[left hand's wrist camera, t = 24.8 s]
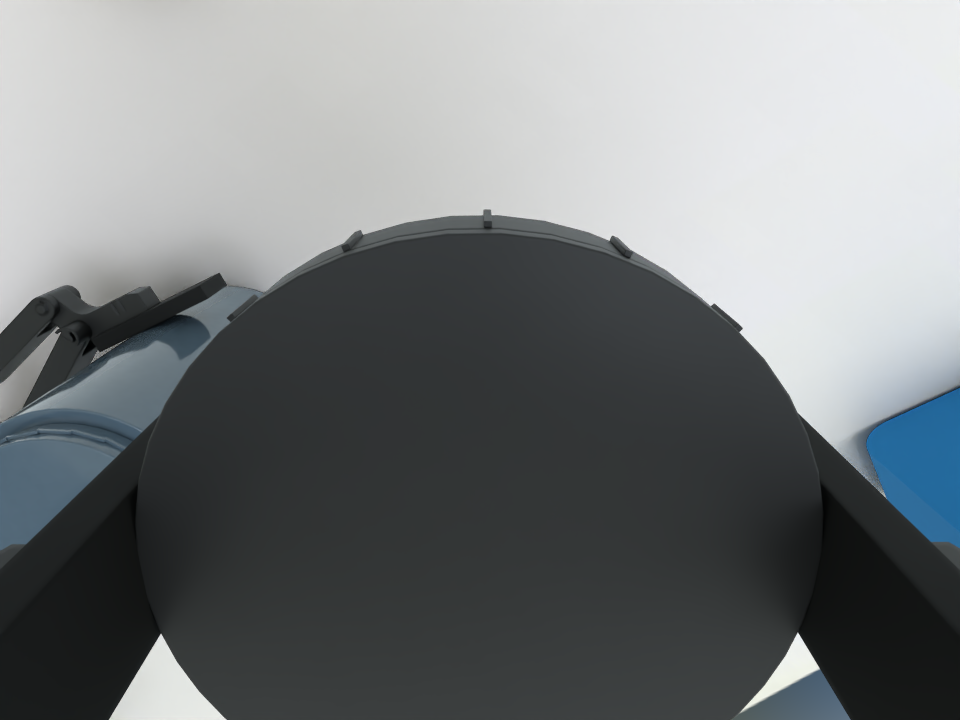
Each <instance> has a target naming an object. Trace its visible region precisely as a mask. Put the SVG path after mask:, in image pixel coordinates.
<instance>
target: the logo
mask: <svg viewBox="0 0 960 720" xmlns="http://www.w3.org/2000/svg"><path fill="white" fill-rule="evenodd" d="M866 447H867V450H868V452H869V455H870V457H871V460H872V462H873V465H874V467H875V470H876V473H877V475H878V478H879V480H880V483H881V485H882V488H883V490H884V493H885V495H886V498H887V500H888V501H889V502H890V503H891V504H892V505H893V506H894V507H895V508H896V509H897V510H898V511H900V512H901V513H902V514H903V515H904V516H905V517H906V518H907V519H908V520H909V521H910V522H911V523H912V524H913V525H914V526H915V527H916V528H917V529H918V530H919V531H920V532H921V533H922V534H923V535H924V536H925V537H926V538H927V539H928V540H929V541H931V542H950V543H951V544H953V545H955V546H957V547H958V548H960V388H958V389H956V390H954V391H952V392H950V393H947V394H945V395H943V396H941V397H939V398H936V399H934V400H932V401H930V402H928V403H925V404H923V405H921V406H919V407H917V408H914V409H912V410H910V411H908V412H906V413H903V414H901V415H899V416H897V417H895V418H892V419H890V420H888V421H886V422H884V423H882V424H881V425H879V426H878V427H876V428H875V429H874V430H873V431H872V432H871V433H870V435H869V436H868V439H867V442H866Z"/></svg>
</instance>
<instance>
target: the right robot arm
mask: <svg viewBox="0 0 960 720" xmlns="http://www.w3.org/2000/svg"><path fill="white" fill-rule="evenodd" d="M225 286H227V284H226V283H225V281H224V280H223V278H222V276H221V275H220V273H218V274H216V275H214V276H212V277H210V278H208V279H206V280H204V281H202V282H200V283H198V284H196V285H194V286H192V287H190V288H188V289H186V290H184V291H182V292H180V293H178V294H176V295H174V296H172V297H170V298H168V299H166V300H164V301H162V302H160V301H159V299H158V298H157V296H156V295H155V293H154V292H153V290H152V289H151V287H139V288H137V289H135V290H133V291H131V292H129V293H127V294H125V295H123V296H121V297H119V298H117V299H115V300H113V301H111V302H109V303H107V304H105V305H103V306H101V307H93V306H90V305H88V304H87V303H85V302H84V301H83V300H81V296H80V293H79V292H78V290H77V289H76V288H74V287H73V286H69V285H65V286H62V287H59V288H57V289H55V290H52V291H50V292H48V293H46V294H43V295H41V296H39V297H36V298H35V299H33V300H32V301H31V302H30V303H29V304H28V305H27V306H26V307H25V308H24V309H23V310H22V311H21V312H20V314H19V315H18V316H17V317H16V318H15V319H14V320H13V321H12V322H11V323H10V324H9V325H8V326H7V327H6V328H5V329H4V331H3V332H2V333H1V334H0V383H2V382H3V381H4V380H5V379H7V378H8V377H9V376H10V375H11V374H12V373H13V372H14V371H15V370H16V368H17V367H18V366H19V365H20V364H21V363H22V362H23V361H24V360H25V359H26V358H27V357H28V356H29V355H30V354H31V353H32V352H33V351H34V350H35V349H36V348H37V347H38V346H39V345H40V344H41V343H42V342H43V341H44V340H45V339H46V338H47V336H48V335H49V334H50V333H51V332H52V331H53V330H54V329H55V328H56V327H57V326H58V327H59V328H60V329H58V330H57V331H56V332H55V333H56V334H58V333H60V332H61V334H60V336H59V338H58V340H57V342H56V344H55V346H54V348H53V350H52V352H51V354H50V356H49V358H48V360H47V362H46V363H45V365H44V367H43V369H42V371H41V373H40V375H39V377H38V379H37V381H36V383H35V385H34V387H33V389H32V391H31V393H30V395H29V397H28V399H27V401H26V403H25V405H24V407H23V408H25V407H26V406H28V405H29V404H31V403H32V402H34V401H35V400H37V399H38V398H40V397H41V396H43V395H44V394H46V393H47V392H49V391H50V390H52V389H53V388H55V387H56V386H58V385H59V384H61V383H62V382H64V381H65V380H67V379H68V378H70V377H71V376H73V375H74V374H76V373H77V372H79V371H80V370H82V369H83V368H85V367H86V366H88V365H89V364H90V363H91V361H92V359H93V357H94V356H95V354H96V352H97V350H99V352H101V351H103V350H105V349H107V348H109V347H111V346H113V345H115V344H117V343H119V342H122V341H124V340H126V339H128V338H130V337H132V336H134V335H136V334H138V333H140V332H142V331H144V330H146V329H148V328H150V327H152V326H154V325H156V324H158V323H160V322H162V321H164V320H166V319H168V318H170V317H172V316H174V315H176V314H178V313H180V312H182V311H184V310H186V309H189V308H191V307H193V306H195V305H197V304H199V303H201V302H203V301H205V300H207V299H209V298H210V297H211V296H213V295H214V294H216V293H217V292H218V291H220V290H221V289H223V288H224V287H225ZM1 423H2V422H0V424H1Z"/></svg>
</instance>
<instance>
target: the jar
mask: <svg viewBox="0 0 960 720" xmlns="http://www.w3.org/2000/svg"><path fill="white" fill-rule="evenodd" d="M254 294H255V295H256V296H257V297H258V298H259V297H260V296H262V295H263V294H264V293H262V292H259V291H256V290H253V289H249V288H244V287H235V286H227V287H224V288H223V289H221V290H220V291H218V292H217V293H216V294H214V295H213V296H211V297H210V298H209V299H207V300H205V301H203V302H201V303H199V304H197V305H195V306H193V307H191V308H189V309H186V310H184V311H182V312H180V313H178V314H176V315H174V316H172V317H170V318H168V319H166V320H164V321H162V322H160V323H158V324H156V325H154V326H152V327H150V328H148V329H146V330H144V331H142V332H140V333H138V334H136V335H134V336H132V337H130V338H129V339H127V340H126V341H124V342H122V343H121V344H119V345H118V346H116V347H115V348H113V349H112V350H110V351H109V352H107V353H106V354H104V355H103V356H101V357H100V358H98V359H97V360H95V361H94V362H92V363H91V364H89V365H88V366H86V367H85V368H83V369H82V370H80V371H79V372H77V373H76V374H74V375H73V376H71V377H70V378H68V379H67V380H65V381H64V382H62V383H61V384H59V385H58V386H56V387H55V388H53V389H52V390H50V391H49V392H47V393H46V394H44V395H43V396H41V397H40V398H38V399H37V400H35V401H34V402H32V403H31V404H29V405H28V406H26V407H25V408H23V409H22V410H20V411H19V412H17V413H16V414H14V415H13V416H11V417H10V418H8V419H7V420H5V421H4V422H2V423H1V424H0V551H1V550H2V549H4V548H6V547H8V546H9V545H11V544H27V543H28V542H29V541H30V540H31V539H32V538H33V537H34V536H35V535H36V534H37V533H38V532H39V531H40V530H41V529H42V528H43V527H45V526H46V525H47V524H48V523H49V522H50V521H51V520H52V519H53V518H54V517H55V516H56V515H57V514H58V513H59V512H60V511H61V510H62V509H63V508H64V507H65V506H66V505H67V504H68V503H69V502H70V501H71V500H72V499H73V498H74V497H76V496H77V495H78V494H79V493H80V492H81V491H82V490H83V489H84V488H85V487H86V486H87V485H88V484H89V483H90V482H91V481H92V480H93V479H94V478H95V477H96V476H97V475H98V474H99V473H100V472H101V471H102V470H103V469H104V468H105V467H107V466H108V465H109V464H110V463H111V462H112V461H113V460H114V459H115V458H116V457H117V456H118V455H119V454H120V453H121V452H122V451H123V450H124V449H125V448H126V447H127V446H128V445H129V444H130V443H131V442H132V441H133V440H134V439H135V438H136V437H138V436H139V435H140V434H141V433H142V432H143V431H144V430H145V429H146V428H147V427H148V426H149V425H150V424H151V423H152V422H153V421H154V420H155V419H156V418H157V417H158V416H159V415H160V414H161V412H162V409H163V407H164V405H165V403H166V401H167V400H168V398H169V396H170V395H171V393H172V392H173V390H174V389H175V387H176V385H177V384H178V382H179V381H180V379H181V378H182V376H183V375H184V373H185V371H186V370H187V368H188V367H189V366H190V364H191V363H192V362H193V361H194V360H195V359H196V358H197V356H198V355H199V354H200V353H201V352H202V351H203V350H204V349H205V347H206V346H207V345H208V344H209V343H210V342H211V341H212V339H213V338H214V337H215V336H216V335H217V334H218V333H219V332H220V331H221V330H222V329H223V328H224V327H226V326H227V325H228V324H229V323H230V321H229V320H228V319H227V317H228V316H229V315H230V314H231V313H232V312H233V311H234V310H236V309H237V308H238V307H239V306H240V305H242V304H243V303H244V302H245V301H246V300H248V299H249V298H250V297H251V296H252V295H254Z"/></svg>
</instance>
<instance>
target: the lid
mask: <svg viewBox="0 0 960 720" xmlns="http://www.w3.org/2000/svg"><path fill="white" fill-rule="evenodd" d="M227 319H228V320H229V321H230V323H229V324H228V325H227V326H226V327H224V328H223V329H222V330H221V331H220V332H219V333H218V334H217V335H216V336H215V337H214V338H213V339H212V341H211V342H210V343H209V344H208V345H207V346H206V347H205V349H204V350H203V351H202V352H201V353H200V354H199V355H198V356H197V358H196V359H195V360H194V361H193V362H192V363H191V364H190V366H189V367H188V368H187V370H186V371H185V373H184V375H183V376H182V378H181V379H180V381H179V382H178V384H177V385H176V387H175V389H174V390H173V392H172V393H171V395H170V396H169V398H168V400H167V401H166V403H165V405H164V407H163V409H162V412H161V414H160V416H159V419H158V421H157V423H156V425H155V428H154V430H153V432H152V435H151V437H150V439H149V442H148V445H147V449H146V453H145V457H144V461H143V465H142V469H141V473H140V477H139V481H138V492H137V503H136V514H135V529H136V543H137V550H138V556H139V561H140V566H141V571H142V575H143V580H144V585H145V589H146V594H147V598H148V602H149V605H150V607H151V610H152V612H153V615H154V618H155V620H156V623H157V625H158V628H159V630H160V632H161V634H162V636H163V637H164V639H165V641H166V643H167V645H168V646H169V648H170V650H171V652H172V654H173V655H174V657H175V659H176V661H177V662H178V664H179V665H180V666H181V668H182V669H183V670H184V672H185V673H186V674H187V676H188V677H189V678H190V680H191V681H192V682H193V684H194V685H195V686H196V688H197V689H198V690H199V692H200V693H201V694H202V695H203V696H204V697H205V698H206V699H207V700H208V701H209V702H210V703H211V704H212V705H213V706H214V707H215V708H216V709H217V710H218V711H219V712H220V714H221V715H222V716H223V717H224V718H225V719H227V720H732V719H733V718H734V717H735V716H736V715H737V714H739V713H740V712H741V710H742V709H743V708H744V707H745V706H746V705H747V704H748V703H749V702H750V701H751V700H752V698H753V697H754V696H755V695H756V694H757V693H758V692H759V691H760V690H761V689H762V688H763V686H764V685H765V684H766V682H767V681H768V680H769V678H770V677H771V675H772V674H773V673H774V671H775V670H776V668H777V667H778V665H779V664H780V663H781V661H782V660H783V658H784V657H785V656H786V654H787V652H788V650H789V648H790V646H791V644H792V642H793V640H794V638H795V636H796V635H797V633H798V631H799V629H800V627H801V625H802V623H803V620H804V618H805V615H806V612H807V609H808V606H809V603H810V601H811V598H812V595H813V590H814V586H815V581H816V576H817V571H818V567H819V562H820V557H821V552H822V542H823V514H824V512H823V504H822V496H821V487H820V479H819V472H818V468H817V465H816V462H815V458H814V455H813V451H812V448H811V444H810V441H809V438H808V434H807V432H806V430H805V428H804V425H803V423H802V421H801V419H800V417H799V415H798V413H797V411H796V409H795V406H794V404H793V402H792V400H791V398H790V396H789V394H788V393H787V391H786V390H785V389H784V387H783V386H782V384H781V383H780V381H779V380H778V378H777V377H776V375H775V374H774V372H773V371H772V370H771V368H770V367H769V365H768V364H767V362H766V361H765V359H764V358H763V357H762V356H761V355H760V354H759V353H758V352H757V351H756V350H755V349H754V348H753V347H752V345H751V344H750V343H749V342H748V341H747V340H746V339H745V338H744V337H743V336H742V335H741V334H740V333H739V332H740V331H741V330H742V329H743V328H742V327H741V326H740V325H739V324H738V323H737V322H736V321H735V320H733V319H732V318H731V317H730V316H729V315H727V314H726V313H725V312H724V311H723V310H721V309H720V308H719V307H718V306H717V305H716V304H713V305H712V306H710V305H708V304H707V303H706V302H705V301H704V300H703V299H702V298H700V297H699V296H698V295H697V294H695V293H694V292H693V291H692V290H690V289H689V288H688V287H687V286H685V285H684V284H683V283H681V282H680V281H679V280H678V279H676V278H675V277H674V276H673V275H671V274H670V273H669V272H668V271H666V270H664V269H663V268H661V267H659V266H657V265H656V264H654V263H652V262H651V261H649V260H647V259H645V258H644V257H642V256H640V255H638V254H637V253H635V252H633V251H632V250H630V249H629V248H628V247H627V246H626V245H625V244H624V243H623V242H622V241H621V240H620V239H619V238H617V237H615V236H612V237H611V239H610V241H608V240H606V239H603V238H601V237H598V236H596V235H593V234H591V233H589V232H585V231H581V230H577V229H573V228H569V227H566V226H562V225H558V224H554V223H550V222H546V221H541V220H532V219H524V218H516V217H507V216H499V215H491V210H484V216H448V217H441V218H435V219H428V220H421V221H414V222H407V223H403V224H400V225H396V226H393V227H389V228H386V229H382V230H379V231H375V232H372V233H368V234H365V235H363V234H362V232H361V230H360V231H357V232H355V233H354V234H353V235H352V236H351V237H350V238H349V239H348V240H347V241H346V242H345V243H344V244H341V245H339V246H337V247H334V248H332V249H330V250H328V251H325V252H323V253H321V254H319V255H318V256H316V257H315V258H313V259H311V260H310V261H308V262H307V263H305V264H303V265H302V266H300V267H298V268H297V269H295V270H294V271H292V272H290V273H289V274H287V275H286V276H284V277H283V278H282V279H281V280H279V281H278V282H277V283H276V284H275V285H273V286H272V287H271V288H270V289H269V290H267V291H266V292H265V293H264V294H263V295H262V296H260V297H259V298H258V297H257V296H256V295H255V294H254V295H252V296H251V297H250V298H249V299H248V300H246V301H245V302H244V303H243V304H242V305H240V306H239V307H238V308H237V309H236V310H234V311H233V312H232V313H231V314H230V315H229V316H228V317H227Z"/></svg>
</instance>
